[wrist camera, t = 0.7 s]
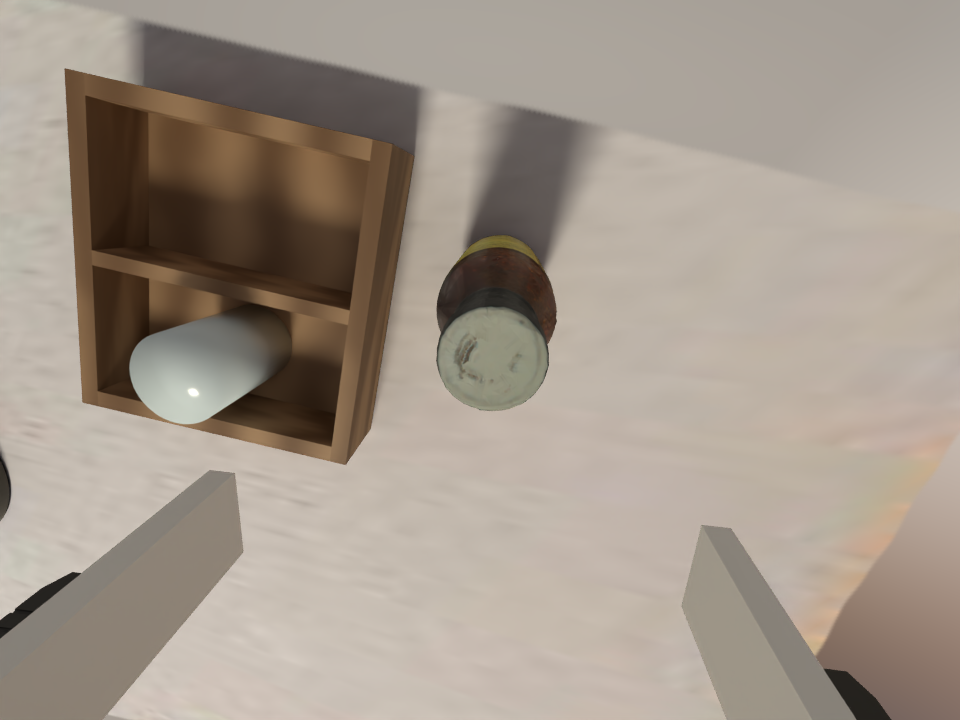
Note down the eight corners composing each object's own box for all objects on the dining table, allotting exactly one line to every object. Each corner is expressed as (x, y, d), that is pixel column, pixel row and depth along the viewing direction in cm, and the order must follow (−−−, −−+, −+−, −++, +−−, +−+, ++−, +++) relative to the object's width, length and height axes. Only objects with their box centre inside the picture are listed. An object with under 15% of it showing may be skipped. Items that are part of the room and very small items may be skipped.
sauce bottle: (442, 267, 35) (354, 328, 16) (510, 216, 34) (499, 216, 15) (493, 335, 36) (466, 465, 18) (560, 289, 35) (609, 375, 16)
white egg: (217, 367, 38) (130, 411, 29) (220, 297, 36) (128, 322, 28) (288, 384, 38) (221, 433, 29) (295, 314, 36) (226, 345, 28)
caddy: (144, 375, 40) (82, 402, 34) (142, 93, 33) (64, 68, 27) (370, 429, 40) (345, 464, 34) (414, 156, 33) (392, 143, 27)
